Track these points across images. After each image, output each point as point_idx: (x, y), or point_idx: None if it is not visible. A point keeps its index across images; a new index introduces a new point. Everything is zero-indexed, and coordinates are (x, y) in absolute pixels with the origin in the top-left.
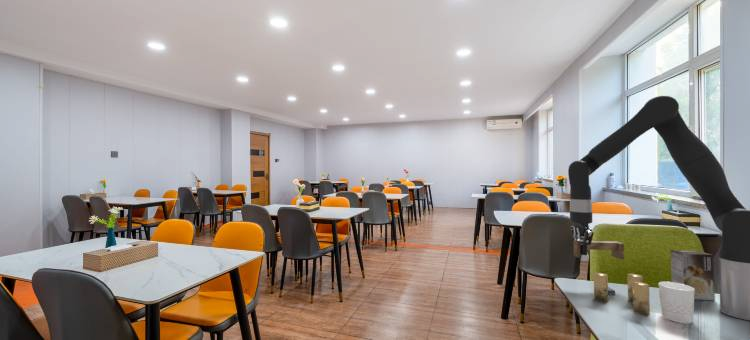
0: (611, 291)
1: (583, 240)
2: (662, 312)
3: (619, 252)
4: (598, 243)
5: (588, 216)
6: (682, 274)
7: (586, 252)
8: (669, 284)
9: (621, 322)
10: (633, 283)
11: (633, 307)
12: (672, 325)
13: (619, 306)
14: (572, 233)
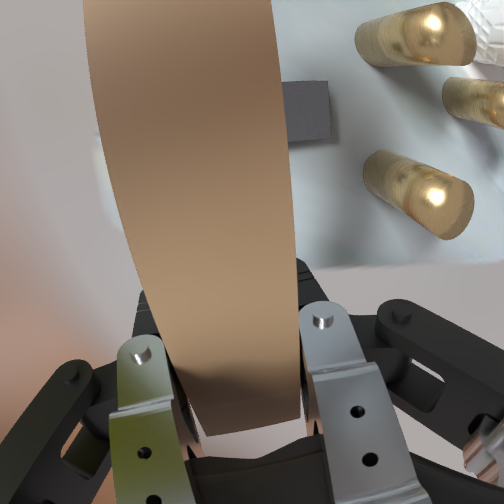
0: (326, 96)
1: (405, 402)
2: (479, 59)
3: None
4: (278, 123)
5: None
6: None
7: (304, 269)
8: None
9: (494, 195)
10: None
11: (460, 117)
12: (501, 81)
13: (426, 136)
14: (91, 497)
